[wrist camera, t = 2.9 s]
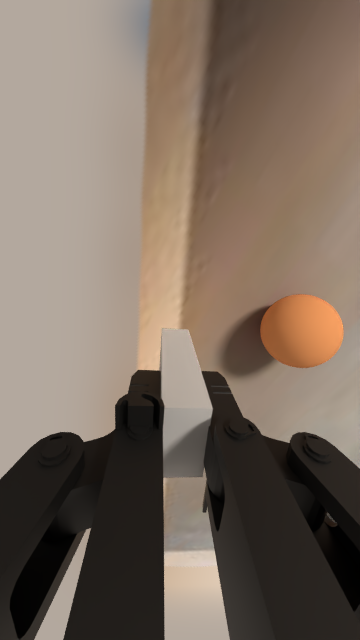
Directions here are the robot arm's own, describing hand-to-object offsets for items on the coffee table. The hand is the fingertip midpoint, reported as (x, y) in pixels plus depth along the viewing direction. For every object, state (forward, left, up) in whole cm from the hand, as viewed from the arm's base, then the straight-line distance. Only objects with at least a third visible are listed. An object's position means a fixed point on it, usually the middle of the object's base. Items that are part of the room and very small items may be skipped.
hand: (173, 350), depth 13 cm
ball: (0, +10, -4) cm, 10 cm away
